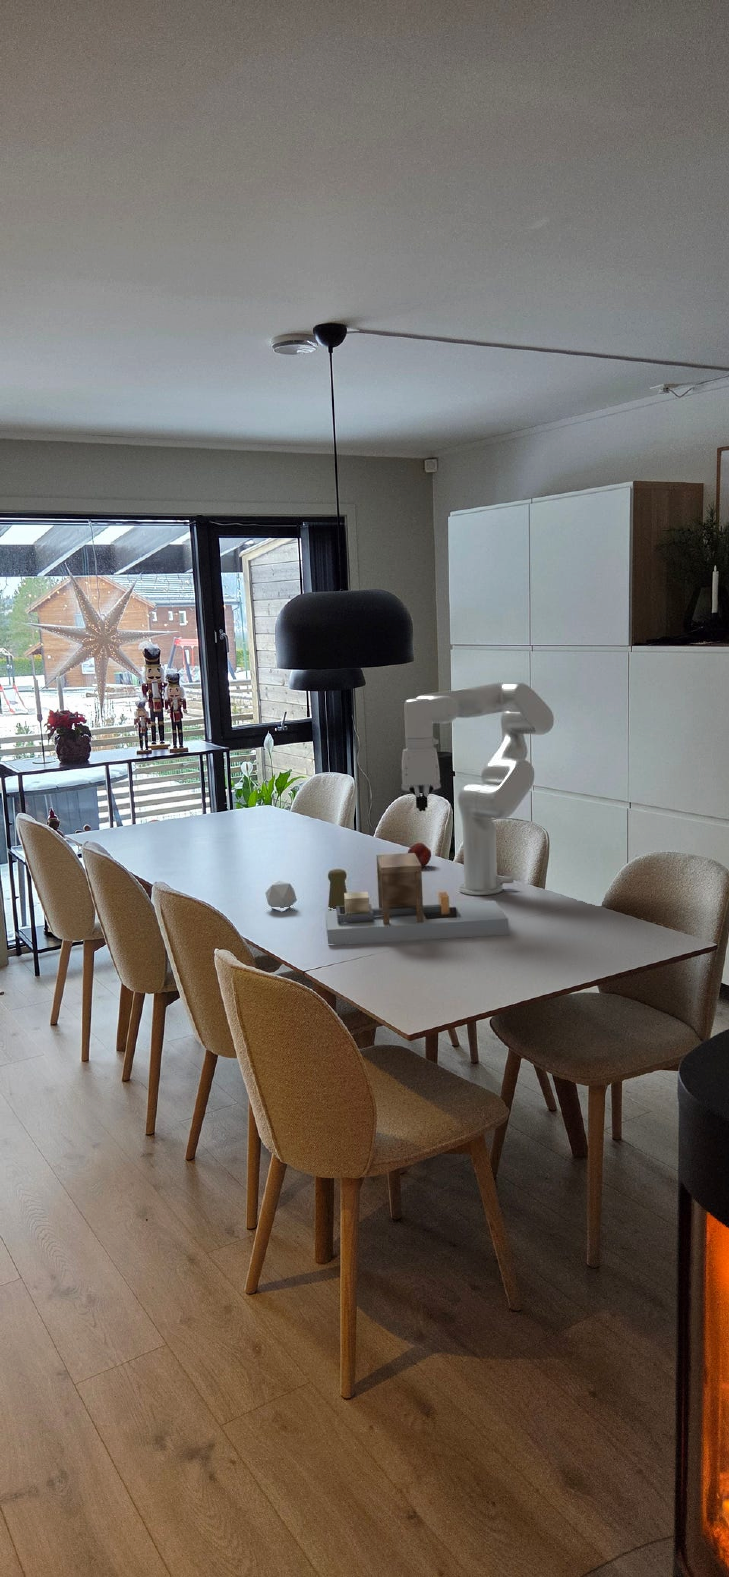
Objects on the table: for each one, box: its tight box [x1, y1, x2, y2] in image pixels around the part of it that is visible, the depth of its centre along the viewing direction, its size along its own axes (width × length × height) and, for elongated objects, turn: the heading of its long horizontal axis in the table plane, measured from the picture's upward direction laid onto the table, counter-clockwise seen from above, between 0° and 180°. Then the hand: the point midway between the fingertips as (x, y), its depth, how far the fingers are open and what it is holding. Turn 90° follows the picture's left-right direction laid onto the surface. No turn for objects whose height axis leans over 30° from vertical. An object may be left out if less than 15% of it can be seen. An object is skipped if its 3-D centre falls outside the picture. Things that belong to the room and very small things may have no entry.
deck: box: [325, 900, 509, 945], centre depth 266 cm, size 45×18×4 cm, turn 94°
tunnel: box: [376, 852, 424, 925], centre depth 265 cm, size 10×15×14 cm, turn 4°
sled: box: [336, 891, 450, 923], centre depth 265 cm, size 28×9×4 cm, turn 94°
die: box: [265, 880, 298, 908], centre depth 292 cm, size 8×9×10 cm
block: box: [344, 891, 370, 914], centre depth 265 cm, size 6×6×6 cm
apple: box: [407, 842, 432, 868], centre depth 337 cm, size 7×8×8 cm
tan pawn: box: [327, 868, 348, 909], centre depth 291 cm, size 6×6×11 cm
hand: (422, 810), depth 285 cm, fingers closed
